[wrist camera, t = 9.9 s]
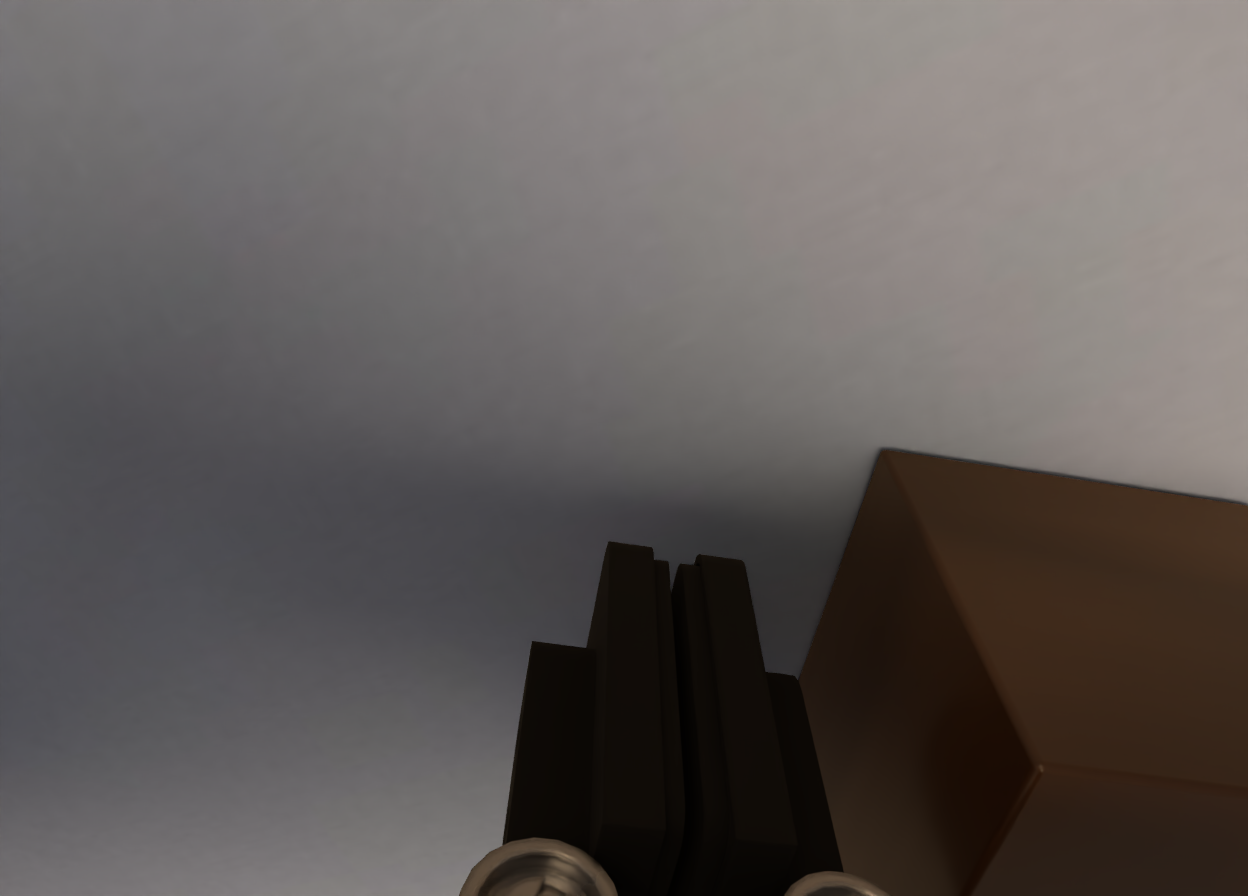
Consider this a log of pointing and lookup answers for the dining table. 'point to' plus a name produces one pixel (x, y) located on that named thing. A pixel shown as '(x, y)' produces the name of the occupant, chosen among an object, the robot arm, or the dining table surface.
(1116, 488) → the walnut block
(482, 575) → the dining table surface
